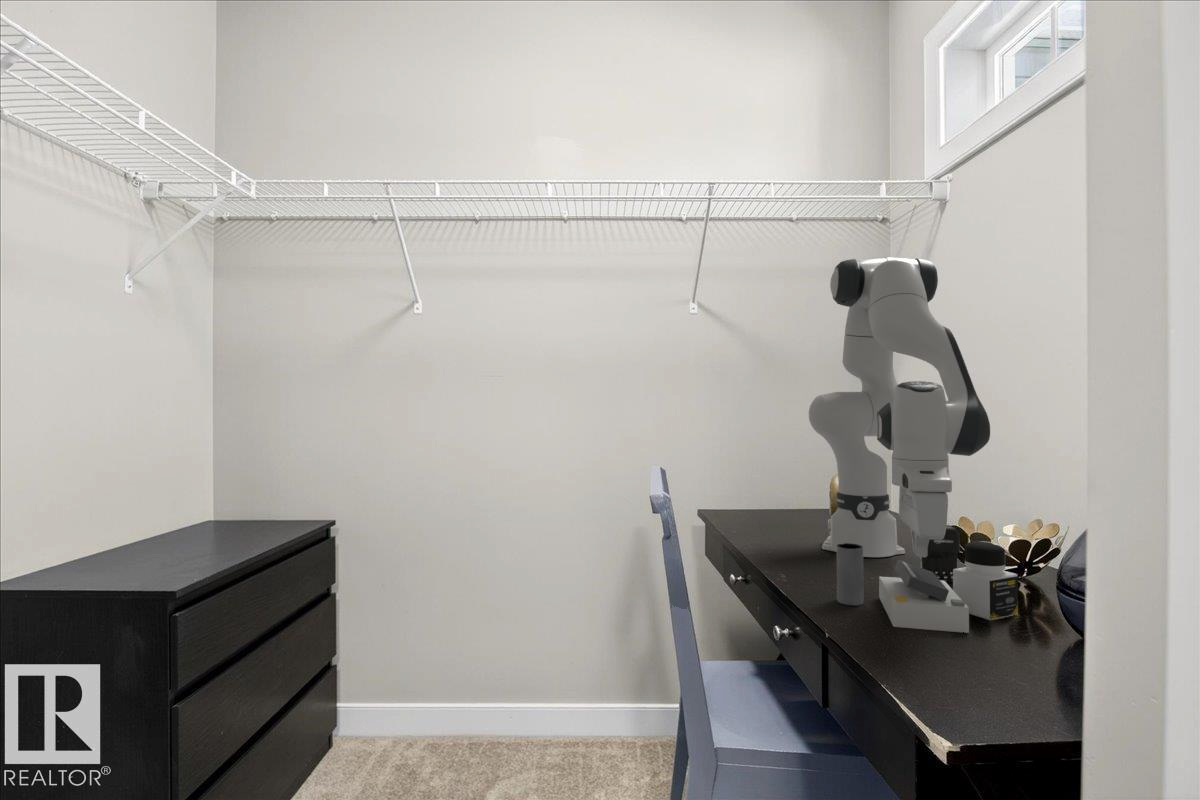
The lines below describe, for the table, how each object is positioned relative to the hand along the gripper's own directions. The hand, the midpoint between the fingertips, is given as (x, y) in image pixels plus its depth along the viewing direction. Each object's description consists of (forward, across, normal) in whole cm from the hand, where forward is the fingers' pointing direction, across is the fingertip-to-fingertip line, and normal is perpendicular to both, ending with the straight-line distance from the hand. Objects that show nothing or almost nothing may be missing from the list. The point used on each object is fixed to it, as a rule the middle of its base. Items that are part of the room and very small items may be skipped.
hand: (920, 555), depth 112 cm
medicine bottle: (+10, -4, +11) cm, 16 cm away
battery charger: (+10, -23, +8) cm, 26 cm away
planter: (+10, -4, -11) cm, 16 cm away
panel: (+10, 0, 0) cm, 10 cm away
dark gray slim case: (+4, 0, 0) cm, 4 cm away
